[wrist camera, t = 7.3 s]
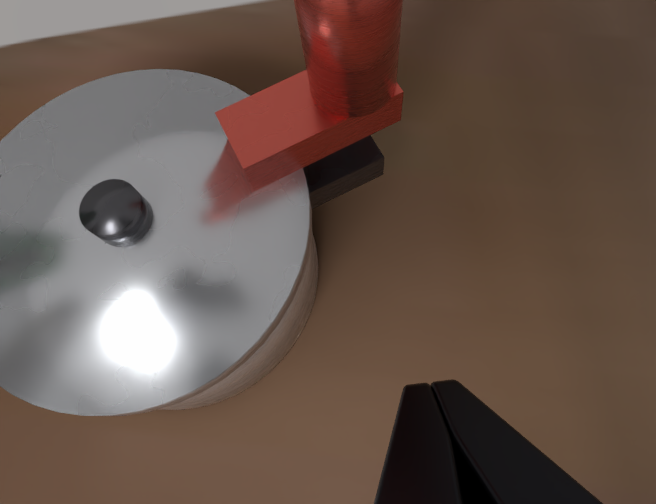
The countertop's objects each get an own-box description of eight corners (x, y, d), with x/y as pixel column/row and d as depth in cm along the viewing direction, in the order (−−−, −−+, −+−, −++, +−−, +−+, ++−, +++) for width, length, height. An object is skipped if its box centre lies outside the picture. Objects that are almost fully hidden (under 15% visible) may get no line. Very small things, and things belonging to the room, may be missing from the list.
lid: (9, 492, 13) (-485, 586, 6) (-63, 170, 17) (-414, -34, 10) (482, 246, 15) (607, 47, 7) (314, -2, 18) (274, -306, 11)
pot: (59, 485, 18) (-37, 504, 14) (-3, 241, 22) (-94, 197, 17) (432, 294, 19) (449, 257, 15) (312, 95, 23) (299, 20, 19)
